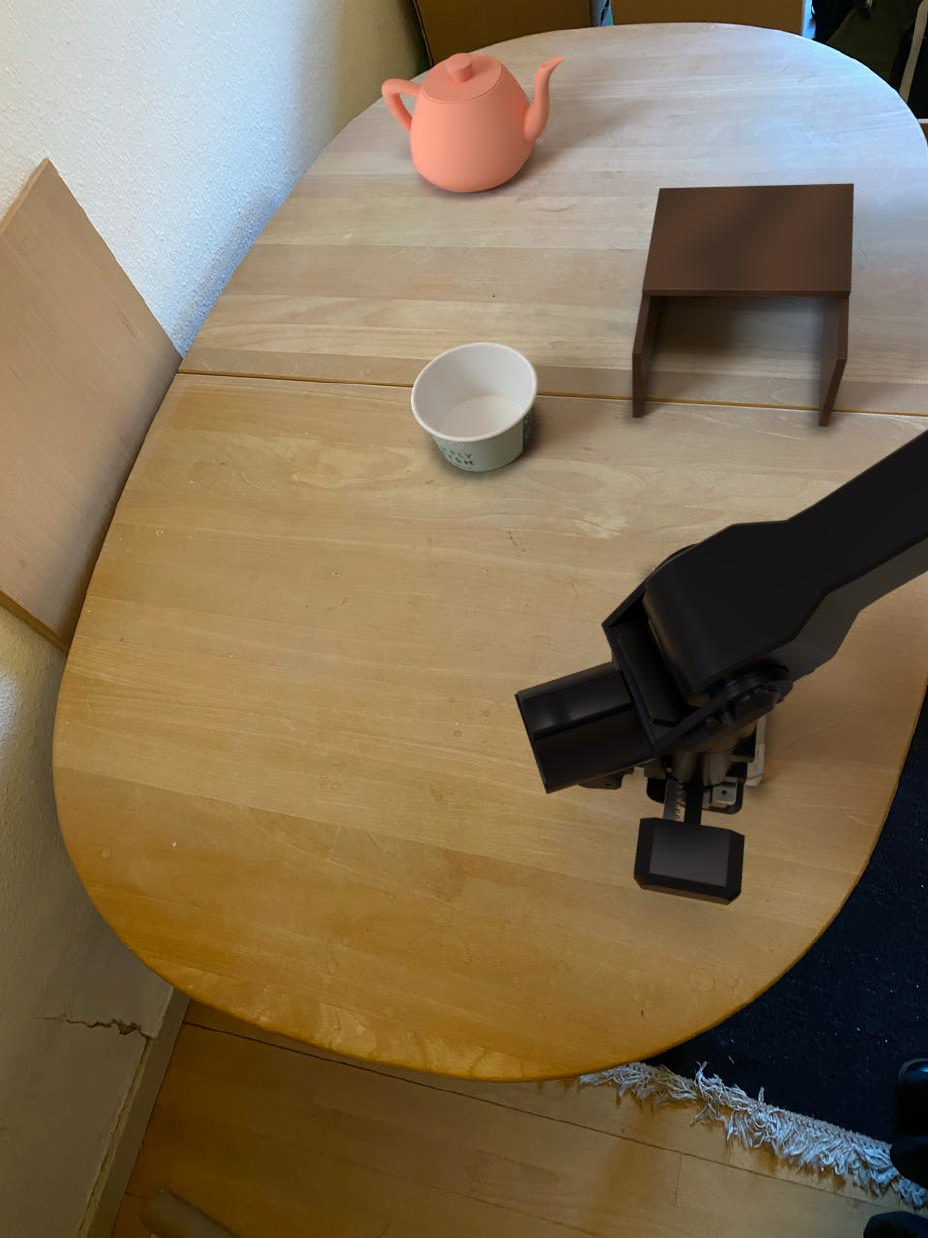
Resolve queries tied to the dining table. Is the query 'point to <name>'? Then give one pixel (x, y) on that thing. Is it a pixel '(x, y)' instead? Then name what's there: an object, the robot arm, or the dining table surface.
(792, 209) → the cubby shelf
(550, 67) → the teapot
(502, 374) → the food container
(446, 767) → the dining table surface
